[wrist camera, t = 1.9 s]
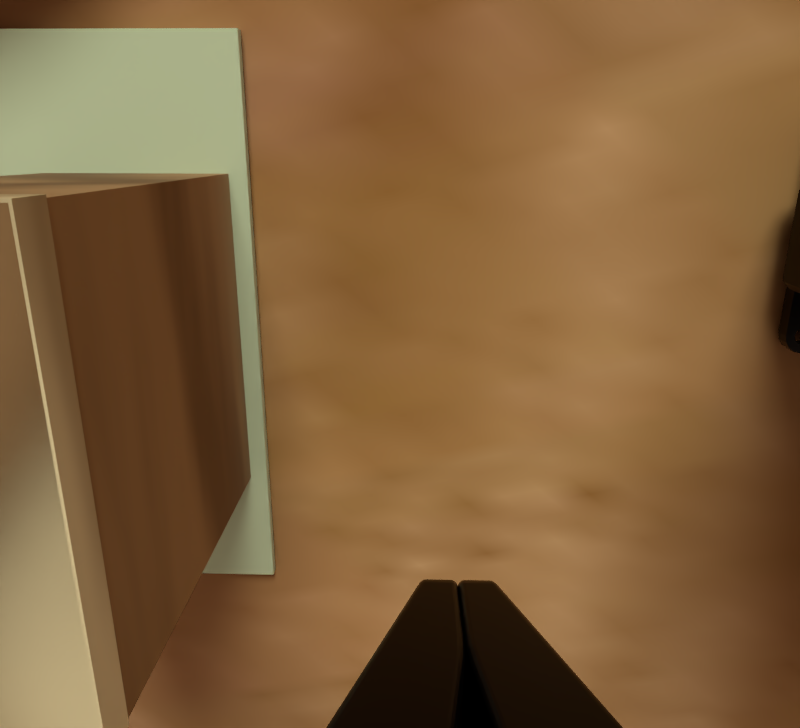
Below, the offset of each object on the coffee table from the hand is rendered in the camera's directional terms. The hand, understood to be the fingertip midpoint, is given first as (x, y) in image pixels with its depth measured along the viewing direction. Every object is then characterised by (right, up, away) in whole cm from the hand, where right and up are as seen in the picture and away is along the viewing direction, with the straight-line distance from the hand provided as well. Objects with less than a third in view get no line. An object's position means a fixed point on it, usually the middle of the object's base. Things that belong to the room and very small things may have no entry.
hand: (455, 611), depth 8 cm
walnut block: (-8, +4, +11) cm, 14 cm away
